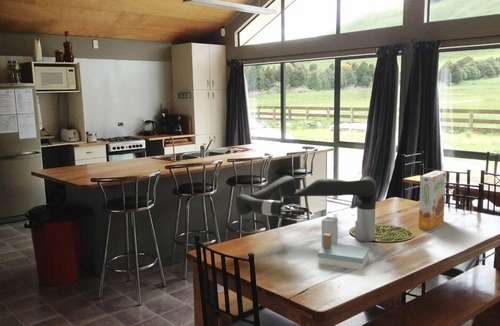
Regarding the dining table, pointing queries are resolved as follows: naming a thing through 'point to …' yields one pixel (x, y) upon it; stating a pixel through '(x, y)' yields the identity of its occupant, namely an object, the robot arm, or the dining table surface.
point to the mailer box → (344, 263)
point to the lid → (342, 251)
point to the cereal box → (432, 199)
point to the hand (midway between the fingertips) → (306, 211)
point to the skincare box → (330, 228)
